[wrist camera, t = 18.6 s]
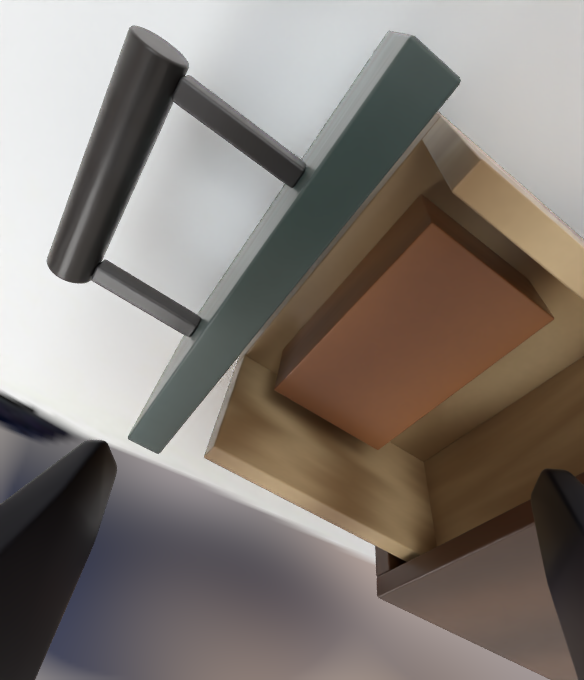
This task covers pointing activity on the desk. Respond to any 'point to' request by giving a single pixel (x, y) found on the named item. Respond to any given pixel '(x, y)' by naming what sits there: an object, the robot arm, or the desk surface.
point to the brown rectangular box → (409, 328)
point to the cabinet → (486, 591)
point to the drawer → (321, 282)
